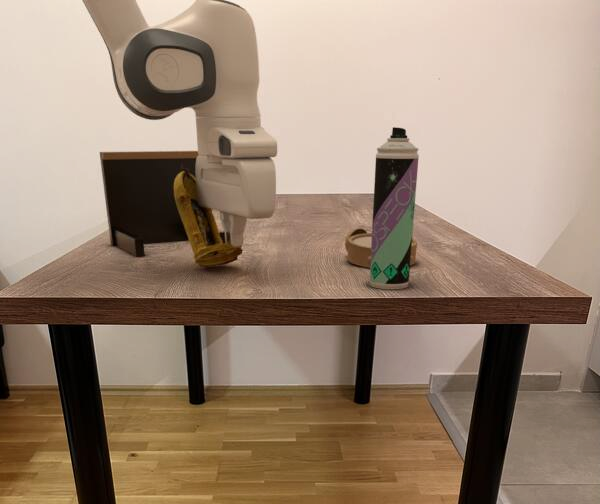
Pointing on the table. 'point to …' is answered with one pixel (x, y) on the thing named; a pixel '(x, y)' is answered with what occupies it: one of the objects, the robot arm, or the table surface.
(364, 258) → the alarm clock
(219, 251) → the shrine
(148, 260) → the table surface
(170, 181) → the black display stand
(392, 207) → the spray can
